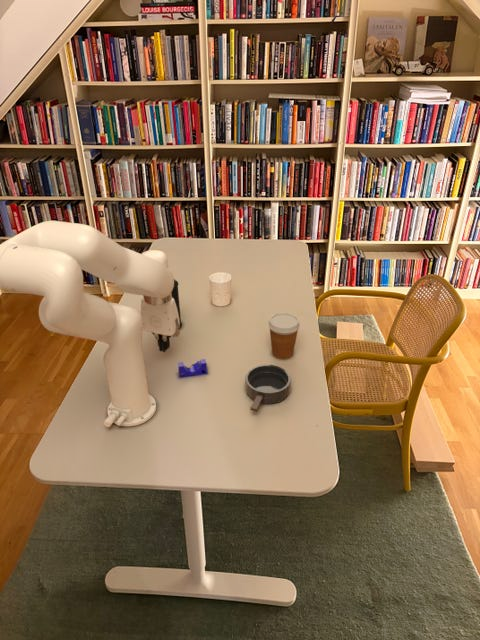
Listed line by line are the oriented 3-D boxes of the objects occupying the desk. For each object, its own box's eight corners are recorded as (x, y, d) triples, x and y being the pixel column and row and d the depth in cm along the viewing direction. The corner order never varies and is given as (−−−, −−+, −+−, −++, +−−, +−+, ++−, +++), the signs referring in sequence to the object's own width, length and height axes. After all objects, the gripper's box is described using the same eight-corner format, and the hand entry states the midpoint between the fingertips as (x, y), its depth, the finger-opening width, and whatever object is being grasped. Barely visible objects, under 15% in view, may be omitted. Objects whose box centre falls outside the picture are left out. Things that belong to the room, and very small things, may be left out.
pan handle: (256, 411, 122) (256, 409, 122) (250, 410, 123) (250, 407, 122) (264, 396, 127) (264, 393, 127) (258, 394, 128) (258, 392, 127)
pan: (282, 409, 127) (283, 397, 124) (239, 398, 130) (239, 386, 128) (294, 381, 136) (295, 370, 134) (254, 372, 140) (254, 360, 138)
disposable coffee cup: (260, 353, 148) (261, 320, 141) (280, 341, 154) (281, 308, 147) (285, 366, 142) (286, 332, 136) (304, 352, 148) (307, 319, 142)
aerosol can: (177, 334, 157) (172, 279, 147) (153, 331, 159) (147, 277, 148) (185, 320, 164) (180, 267, 154) (162, 318, 166) (156, 265, 155)
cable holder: (205, 366, 142) (204, 355, 140) (207, 374, 140) (206, 363, 137) (178, 370, 141) (177, 359, 139) (179, 377, 138) (178, 366, 136)
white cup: (231, 307, 172) (231, 282, 166) (209, 307, 172) (208, 282, 167) (232, 296, 178) (231, 272, 173) (211, 296, 179) (210, 272, 173)
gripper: (126, 297, 130) (135, 351, 140) (175, 306, 125) (181, 361, 136) (140, 284, 136) (148, 337, 146) (188, 293, 131) (193, 346, 141)
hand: (164, 348), depth 141 cm, fingers closed
